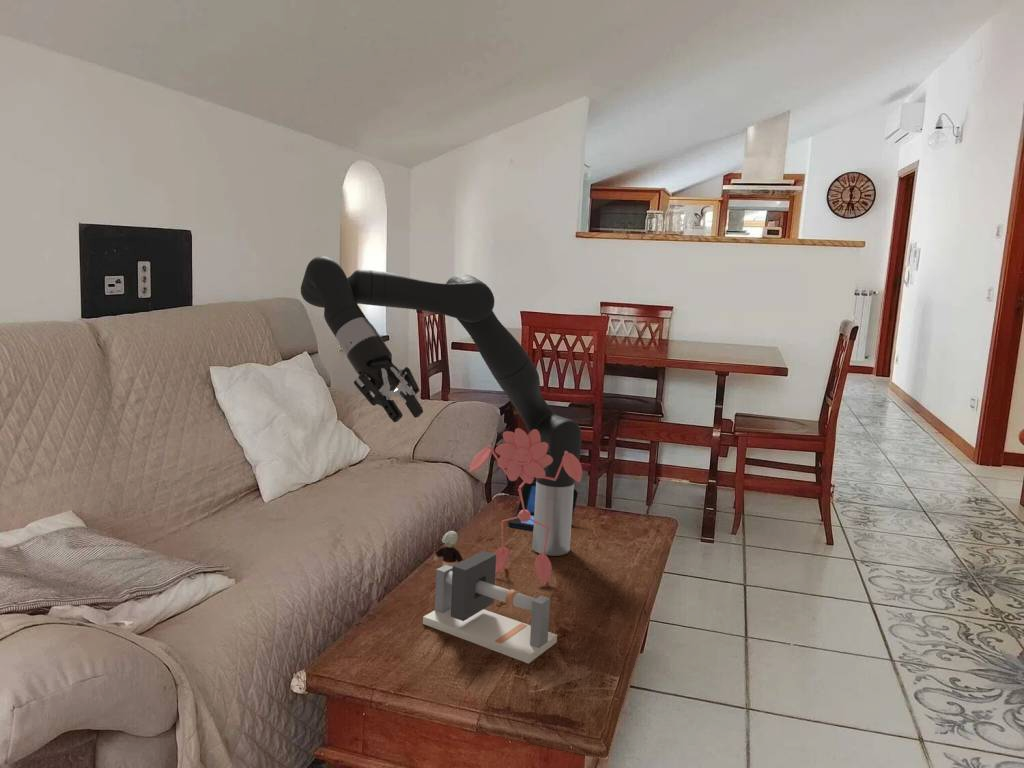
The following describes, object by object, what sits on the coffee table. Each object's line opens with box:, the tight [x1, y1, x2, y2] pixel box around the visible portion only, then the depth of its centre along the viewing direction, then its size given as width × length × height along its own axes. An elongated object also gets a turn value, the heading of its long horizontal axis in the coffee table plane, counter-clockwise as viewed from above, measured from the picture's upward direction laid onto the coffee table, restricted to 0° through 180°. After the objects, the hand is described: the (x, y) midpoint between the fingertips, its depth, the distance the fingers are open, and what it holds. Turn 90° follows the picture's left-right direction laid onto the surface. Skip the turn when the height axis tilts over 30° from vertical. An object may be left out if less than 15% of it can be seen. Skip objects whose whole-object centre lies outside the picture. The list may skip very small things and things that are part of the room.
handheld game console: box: [507, 481, 579, 531], centre depth 213 cm, size 16×13×9 cm
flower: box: [469, 427, 583, 598], centre depth 171 cm, size 15×26×35 cm, turn 72°
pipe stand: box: [422, 565, 558, 665], centre depth 150 cm, size 10×24×10 cm, turn 57°
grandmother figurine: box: [433, 530, 464, 567], centre depth 169 cm, size 8×4×13 cm, turn 71°
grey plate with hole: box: [451, 550, 496, 621], centre depth 152 cm, size 10×3×10 cm, turn 147°
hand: (409, 416), depth 149 cm, fingers open, 5 cm apart
